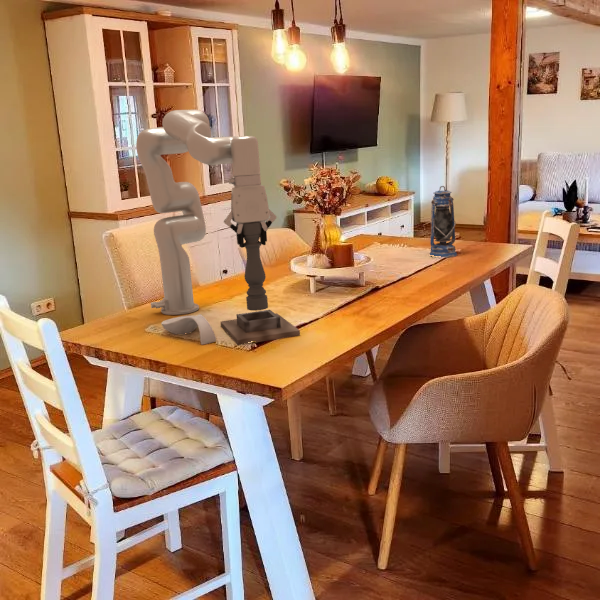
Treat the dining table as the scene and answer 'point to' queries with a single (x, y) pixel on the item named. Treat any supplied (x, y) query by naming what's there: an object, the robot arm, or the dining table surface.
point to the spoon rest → (191, 327)
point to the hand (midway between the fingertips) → (252, 245)
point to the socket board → (259, 327)
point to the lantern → (442, 225)
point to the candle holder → (254, 267)
